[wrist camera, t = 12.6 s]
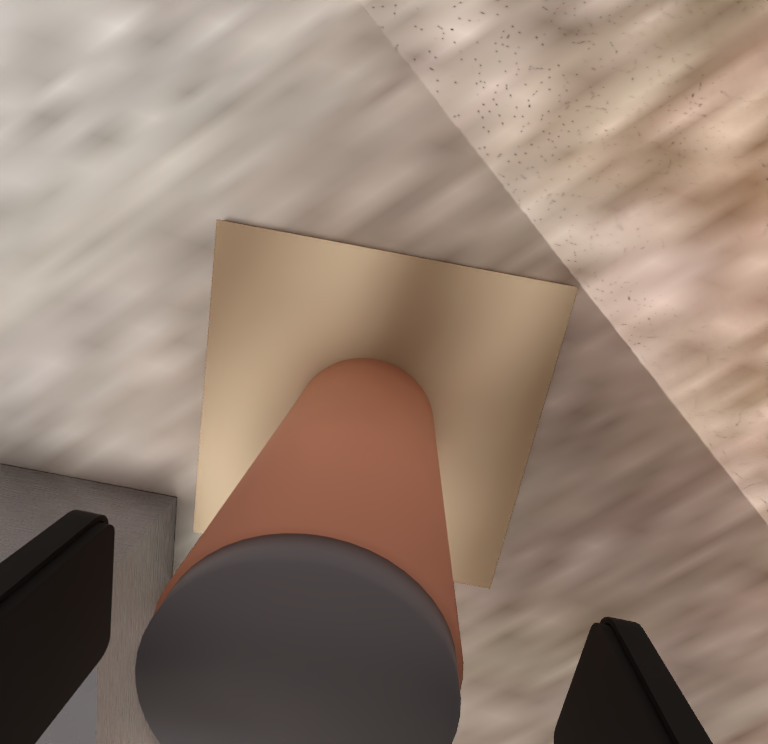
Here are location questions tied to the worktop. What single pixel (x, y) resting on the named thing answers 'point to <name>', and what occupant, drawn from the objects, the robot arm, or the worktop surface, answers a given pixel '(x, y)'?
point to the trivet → (386, 343)
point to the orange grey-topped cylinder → (318, 585)
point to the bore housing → (129, 592)
